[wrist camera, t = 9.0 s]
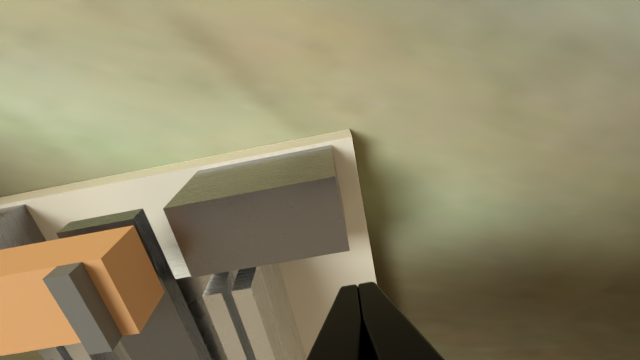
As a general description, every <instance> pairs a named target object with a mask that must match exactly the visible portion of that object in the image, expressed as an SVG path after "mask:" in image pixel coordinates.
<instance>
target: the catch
mask: <svg viewBox="0 0 640 360" xmlns="http://www.w3.org/2000/svg"><path fill="white" fill-rule="evenodd" d="M164 293H165V292H164V289H163V287H162V285H161V283H160V281H159V279H158V276H157V274H156V272H155V270H154V268H153V266H152V263H151V261H150V259H149V257H148V255H147V253H146V250H145V248H144V246H143V244H142V242H141V239H140V237H139V235H138V233H137V231H136V229H135V226H134V225H132V226H127V227H121V228H116V229H111V230H105V231H100V232H94V233H89V234H83V235H78V236H73V237H67V238H62V239H56V240H51V241H45V242H40V243H35V244H29V245H24V246H18V247H13V248H7V249H2V250H0V356H2V355H8V354H14V353H20V352H27V351H33V350H39V349H45V348H51V347H58V346H64V345H70V344H76V343H82V344H83V346H84V348H85V349H86V351H87V352H88V354H89V355H92V354H98V353H104V352H111V351H113V350H114V348H115V347H116V345H117V344H118V342H119V341H120V339H121V338H122V336H126V335H132V334H139V333H140V332H141V330H142V329H143V327H144V326H145V324H146V322H147V321H148V319H149V317H150V316H151V314H152V312H153V311H154V309H155V308H156V306H157V304H158V303H159V301H160V299H161V298H162V296H163V294H164Z"/></svg>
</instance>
